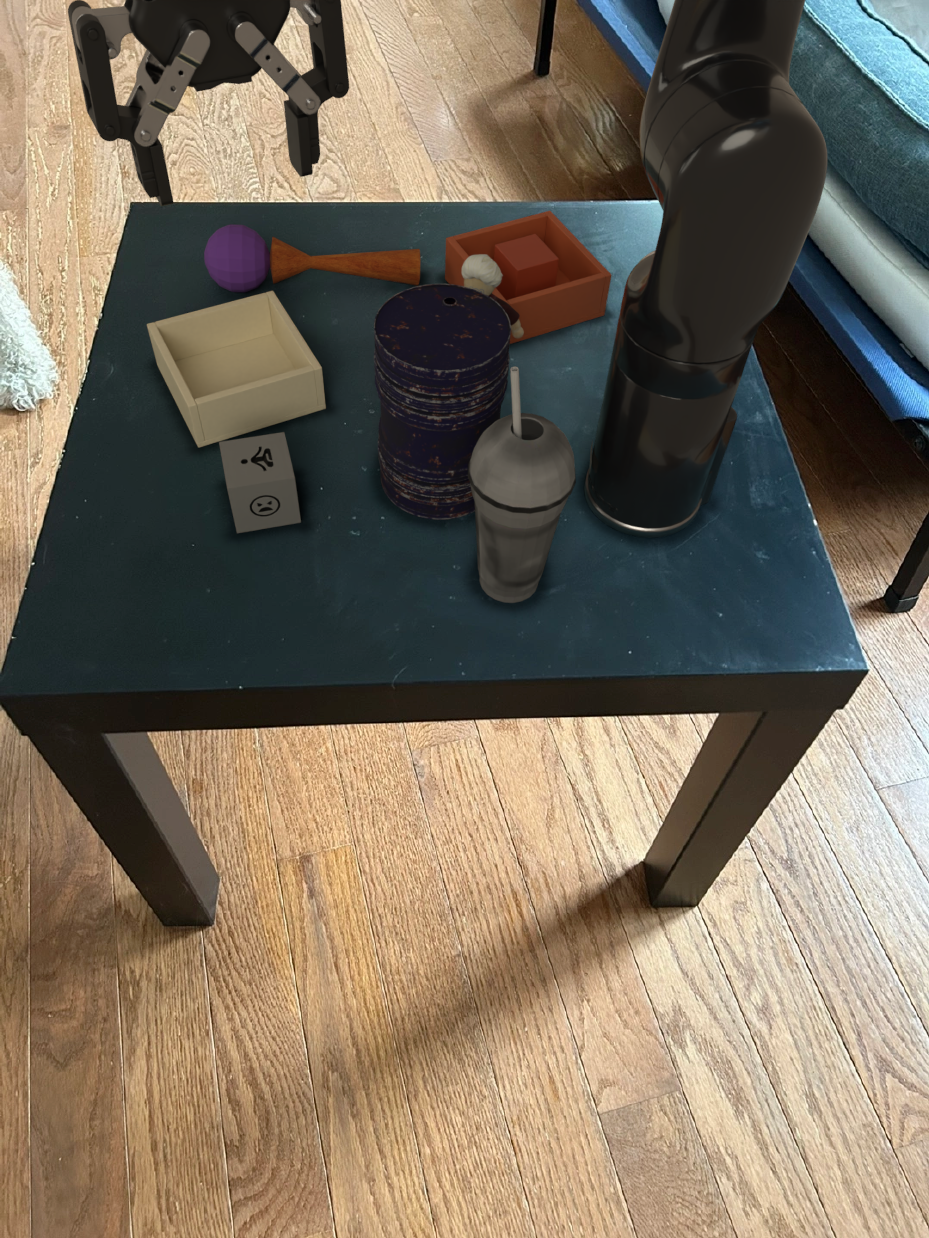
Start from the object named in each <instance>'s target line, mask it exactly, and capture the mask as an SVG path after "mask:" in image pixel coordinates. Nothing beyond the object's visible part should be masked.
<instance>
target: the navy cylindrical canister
mask: <svg viewBox="0 0 929 1238" xmlns="http://www.w3.org/2000/svg"><path fill="white" fill-rule="evenodd" d="M373 321H374V322H373V335H374V336H373V337H374V351H373V369H374V385H375V390H376V393H377V396H378V399H379V402H380V403H379V404H380V405H379V406H380V416H379V420H378V421H379V422H378V425H377V426H378V431H377V433H378V438H377V458H378V462H379V468H380V469H379V470H380V472H379V473H380V483H381V488H382V490H383V491H384V494H385V495H386V497H387V498H388V499H389V500H390V502H392V503H393V504H394V505H395V506H396V507H398V508H399V509H400V510H401V511H404V512H406V513H408V514H410V515H413V516H415V517H419V518H423V519H427V520H437V521H440V520H451V519H453V520H454V519H457V518H458V519H459V518H461V517H465V516H467V515H470V514H473V513H475V501H474V498H473V495H472V490H471V486H470V481H469V478H468V464H469V461H470V459H471V457H472V453H473V450H474V447H475V446H476V444H477V442H478V440H479V438H480V436H481V435H482V433H483V432H484V431H485V430H486V429H487V428H488V427H489V426H491V425H492V424H493V423H494V422H495V421H497V420H499V419H501V410H502V403H503V401H504V398H505V396H506V392H507V389H508V384H509V381H508V377H509V369H510V360H511V357H510V347H511V344H510V335H511V324H510V320H509V317H508V315H507V313H506V312H505V310H504V309H503V308H502V307H501V306H500V305H499V303H497V302H496V301H495V300H494V299H492V298H491V297H489V296H487V295H486V294H484V293H482V292H479V291H477V290H475V289H471V288H468V287H464V286H459V285H453V284H449V283H429V284H422V285H418V286H417V285H415V286H413V287H409V288H406V289H404V290H402V291H399V292H398V293H396V294H393V295H392V296H391V297H389V298H388V299H387V300H386V301H385V302H384V303H383V304H381V306H380V307H379V308H378V311H377V312H376V314H375V316H374V320H373Z"/></svg>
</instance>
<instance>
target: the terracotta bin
mask: <svg viewBox="0 0 929 1238" xmlns="http://www.w3.org/2000/svg"><path fill="white" fill-rule="evenodd" d="M533 234H536V235H537V236H538V237H539V238H540V239H541V240H542V241H543V242H544V244H545V245H546V246H547V247H548V248H549V249H550V250H551V251H552V252H553V253H554V254H555V255H556V256H557V257H558V259H559V261H558V269H557V276H556V284H555V286H554V287H551V288H547V289H544V290H540V291H537V292H533V293H530V294H526V295H523V296H520V297H516V298H513V299H509V300H507V301H506V300H505V298H504V297H503V296H502V295H501V294H500V292H499V291H498V290H497V289H496V288H494V290H493V292H492V294H494V295H495V296H496V297H498V298H500V299H502V300H503V301H505V302H507V303H508V304H509V305H510V306H511V307H512V308H513V309H514V310H515V311H516V312H518V313H519V315H520V317H519V321H520V323H521V327H522V329H523V331H524V334H523V336H522V337H521V338H518V339H517V338H514V337H513V335H512V333H511V335H510V344H509V345H513V344H516V343H519V342H521V341H525V340H528V339H532V338H534V337H535V338H536V337H539V336H542V335H544V334H549V333H551V332H555V331H558V330H561V329H565V328H567V327H571V326H574V325H579V324H581V323H584V322H587V321H591V320H594V319H598V318H600V317H604V316H605V314H606V308H607V303H608V297H609V292H610V286H611V282H612V281H611V280H612V277H613V276H612V275H613V274H612V273H611V272H610V271H609V270H608V269H607V268H606V267H605V266H604V265H603V264H602V263H601V262H600V261H599V260H598V259H597V257H595V255H593V253H592V252H590V251H589V249H587V247H586V246H585V245H584V244H583V243H582V242H581V241H580V240H579V239H578V238H577V237H576V236H575V235H574V233H573V232H571V231H570V230H569V228H568V227H567V226H566V225H565V224H564V223H563V222H562V221H561V220H560V219H559V218H558V217H557V216H556V215H555V214H554V213H553V212H552V211H551V210H547V211H543V212H539V213H536V214H535V213H534V214H531V215H527V216H524V217H520V218H516V219H513V220H509V221H505V222H501V223H497V224H494V225H490V226H486V227H482V228H478V229H473V230H471V231H467V232H462V233H460V234H455V235H451V236H448V237H446V238H445V262H444V263H445V265H444V279H445V281H446V282H447V284H453V285H459V286H464V278H463V276H462V266H463V263H464V262H465V260H466V259H467V258H468V257H469V256H471V255H478V254H486V255H488V256H489V257H490V258H491V259H492V260H493V261H494V253H495V245H496V244H500V243H504V242H507V241H511V240H515V239H518V238H522V237H526V236H529V235H533Z"/></svg>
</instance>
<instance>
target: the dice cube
mask: <svg viewBox="0 0 929 1238" xmlns="http://www.w3.org/2000/svg"><path fill="white" fill-rule="evenodd" d="M218 445H219V449H220V450H219V451H220V456H221V462H222V468H223V473H224V478H225V479H224V480H225V484H226V489H227V494H228V499H229V504H230V508H231V513H232V516H233V517H232V518H233V522H234V526H235V531H236V534H242V533H248V532H253V531H259V530H264V529H271V528H277V527H282V526H288V525H294V524H300V523H302V520H301V519H302V518H301V512H300V504H299V497H298V491H297V483H296V476H295V472H294V468H293V463H292V460H291V454H290V451H289V447H288V442H287V439H286V434H285V431H282V432H276V433H269V434H263V435H256V436H249V437H244V438H235V439H231V440H222V441H219V442H218Z"/></svg>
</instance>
